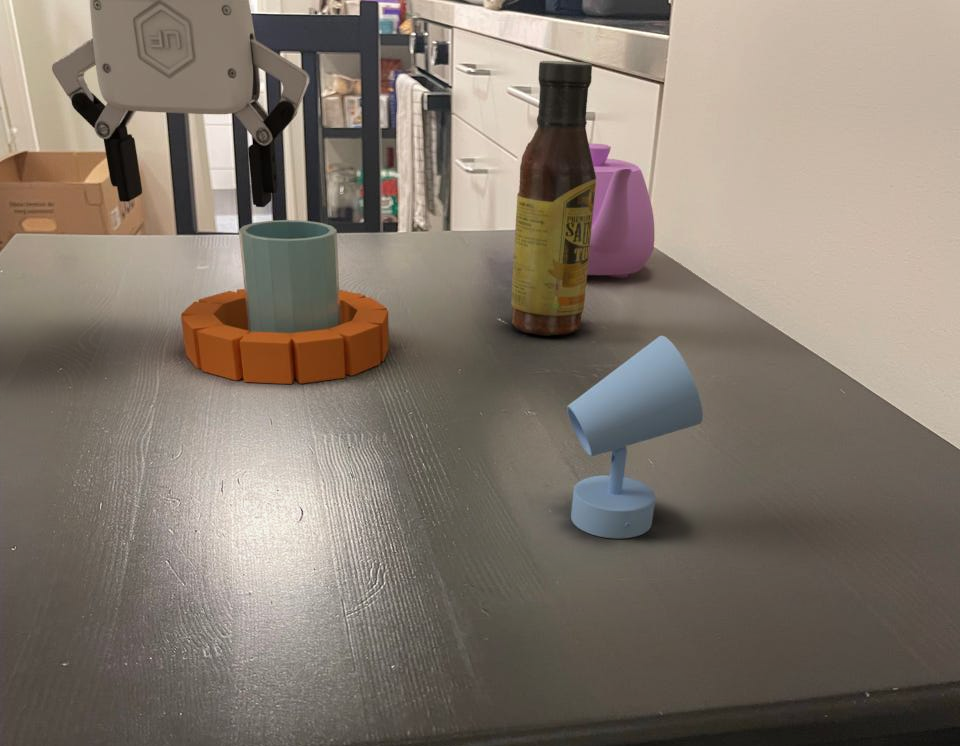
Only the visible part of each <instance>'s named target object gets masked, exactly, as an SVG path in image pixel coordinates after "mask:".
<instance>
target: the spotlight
mask: <svg viewBox="0 0 960 746" xmlns="http://www.w3.org/2000/svg"><path fill="white" fill-rule="evenodd" d="M566 412H567V416H568V418H569V421H570V424H571V426H572V428H573V431H574V433H575V435H576V438H577V439H578V441H579V443H580V445H581V446H582V448H583V449H584V452H586V454H587V455H588V457H596V456H598V455H601V454H605V453H608V452H611V459H610V467H609V475H594V476H590V477H587V478H584V479H581V480H580V481H578V482H577V483H576V484H575V485H574V487H573V491H572V492H573V493H572V501H571V512H570V519H571V522H572V524H573V525H574V526H575V527H576V528H578V529H579V530H580V531H583V532H585V533H587V534H590V535H593V536H597V537H599V538H600V537H602V538H607V539H630V538H636V537H639V536H641V535H644V534H646V533H647V532H648V531H649V530H650V529H652V525H653V518H654V511H655V505H656V497H657V496H656V493H655V491H654V490H653V488H651V487H650V486H649V485H647V484H646V483H644V482H643V481H639V480H638V479H634V478H630V477H626V476H625V471H626V470H625V469H626V461H627V455H628V450H627V449H628V448H627V447H628V446H631V445H635V444H638V443H641V442H645V441H648V440H651V439H654V438H658V437H662V436H665V435H668V434H672V433H674V432H679V431H681V430H684V429H689V428H692V427H695V426H698V425H700V424H702V422H703V419H704V418H703V417H704V414H703V405H702V401H701V397H700V394H699V390H698V388H697V385H696V382H695V379H694V378H693V374H692V373H691V371H690V369H689V367H688V365H687V363H686V361H685V359H684V358H683V356H682V354H681V353H680V351H679V350H678V349H677V347H676V346H675V344H674V343H673V342H672V341H671V340H670V339H669V338H667V337H666V336H664V335H659V336H658V337H656V338H655V339H653V340H652V341H650V343H648V344H647V345H646V346H645V347H643V348H642V349H640V350H639V351H638V352H636V353H635V354H634V355H633V356H631V357H630V358H629V359H627V360H626V361H625V362H624V363H622V364H620V365H619V366H618V367H617V368H616V369H614V370H612V372H610V373H609V374H608V375H606V376H605V377H603V379H601V380H600V381H598V382H597V383H596V384H595V385H593V386H592V387H591V388H589V389H588V390H587V391H585V392H584V393H583V394H582V395H580V396H579V397H577V398H576V399H575V400H572V402H571V403H569V404H568V405H567V406H566Z"/></svg>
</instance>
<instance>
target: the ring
mask: <svg viewBox="0 0 960 746" xmlns="http://www.w3.org/2000/svg"><path fill="white" fill-rule="evenodd" d="M339 291H340V312H341V325H338V326H336V327H333V328H330V329H324V330H315V331H306V332H297V333H275V332H253V331H249V328H248V318H247V308H246V298H245V288H240V289H238V288H237V289H236V291H232V290H227V291H224V292H220V293H216V294H213V295H209V296H205V297H202V298H199V299H198V301H193V302H192V303H191V304H190V305H189V306H188V307H187V308H185V310H184V311H182V313H181V314H180V315H181V316H180V319H181V328H182V335H183V341H184V349H185V350H184V351H185V355H186V357H187V358H188V360H190V362H191V363H192V364H193V365H194V367H195V368H196V369H198V370H201V371H202V372H205V373H208V374H211V375H216V376H217V377H218V376H219V377H222V378H226V379H229V380H233V381H239V380H242V379H243V382H244V383H258V384H259V383H260V384H278V385H279V384H280V385H292V384H293V382H294V380H296V381H297V383H299V384H308V383H309V384H310V383H316V382H325V381H331V380H337V379H345V378H346V375H347V376H351V377H352V376H356V375H358V374H360V373H363V372H364V371H367V370H369V369H372V368H374V367H376V366H379V365H380V364H381V362H382V363H383V362H384V361H385V359H386V356H387V354H388V351H389V348H390V337H389V336H390V333H389V310H388V308H387V307H386V306H384V305H383V304H381V303H380V302H378V301H377V300H376V299H374V298H372V297H371V296H366V295H365V294H362V293H361V294H360V293H357V292H352V291H348V290H342V289H339Z"/></svg>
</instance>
